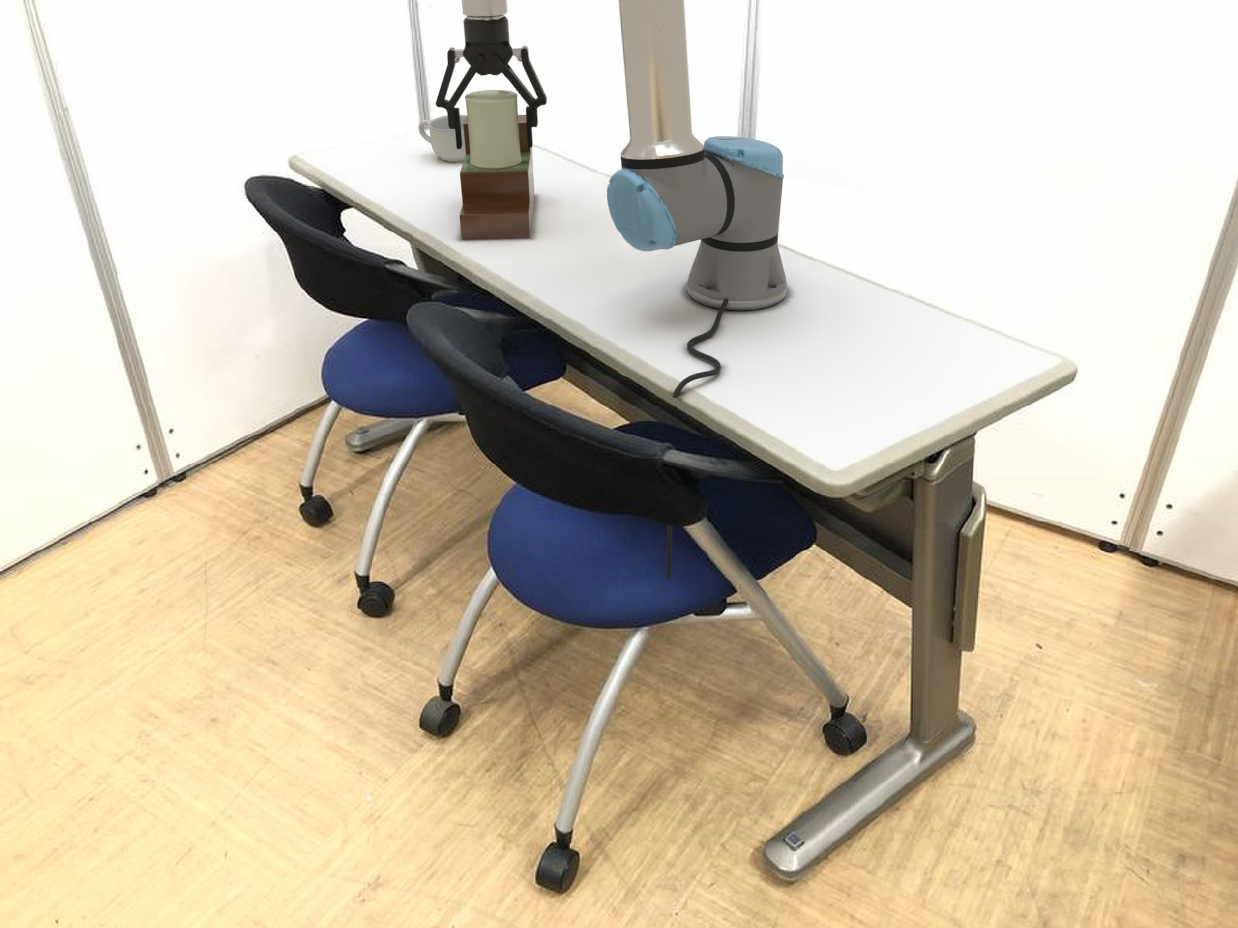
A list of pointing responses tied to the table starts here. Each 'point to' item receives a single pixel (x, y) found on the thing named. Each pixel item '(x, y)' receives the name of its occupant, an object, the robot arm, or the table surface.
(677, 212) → the robot arm
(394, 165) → the table surface
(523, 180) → the shelf riser
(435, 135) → the teacup
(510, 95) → the can
